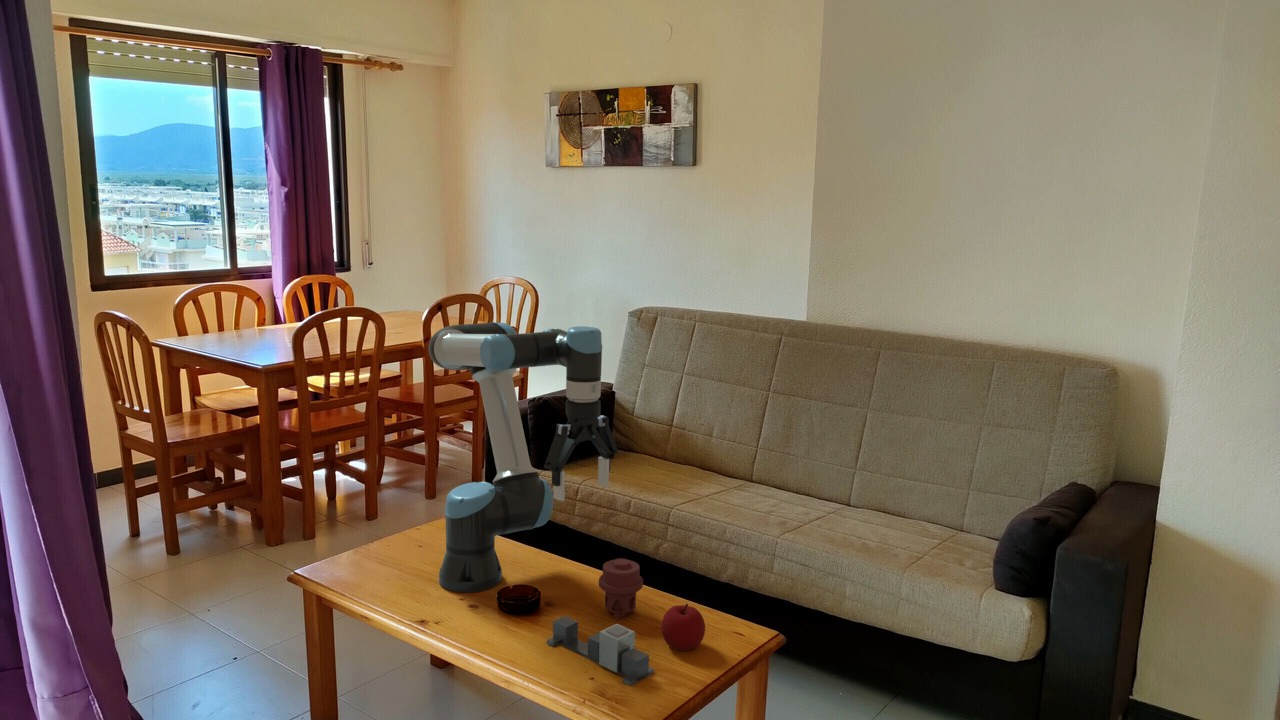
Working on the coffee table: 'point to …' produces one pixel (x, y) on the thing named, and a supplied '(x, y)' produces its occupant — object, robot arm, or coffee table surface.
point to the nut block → (615, 646)
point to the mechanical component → (620, 586)
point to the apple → (683, 627)
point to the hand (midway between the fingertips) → (581, 492)
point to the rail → (567, 636)
